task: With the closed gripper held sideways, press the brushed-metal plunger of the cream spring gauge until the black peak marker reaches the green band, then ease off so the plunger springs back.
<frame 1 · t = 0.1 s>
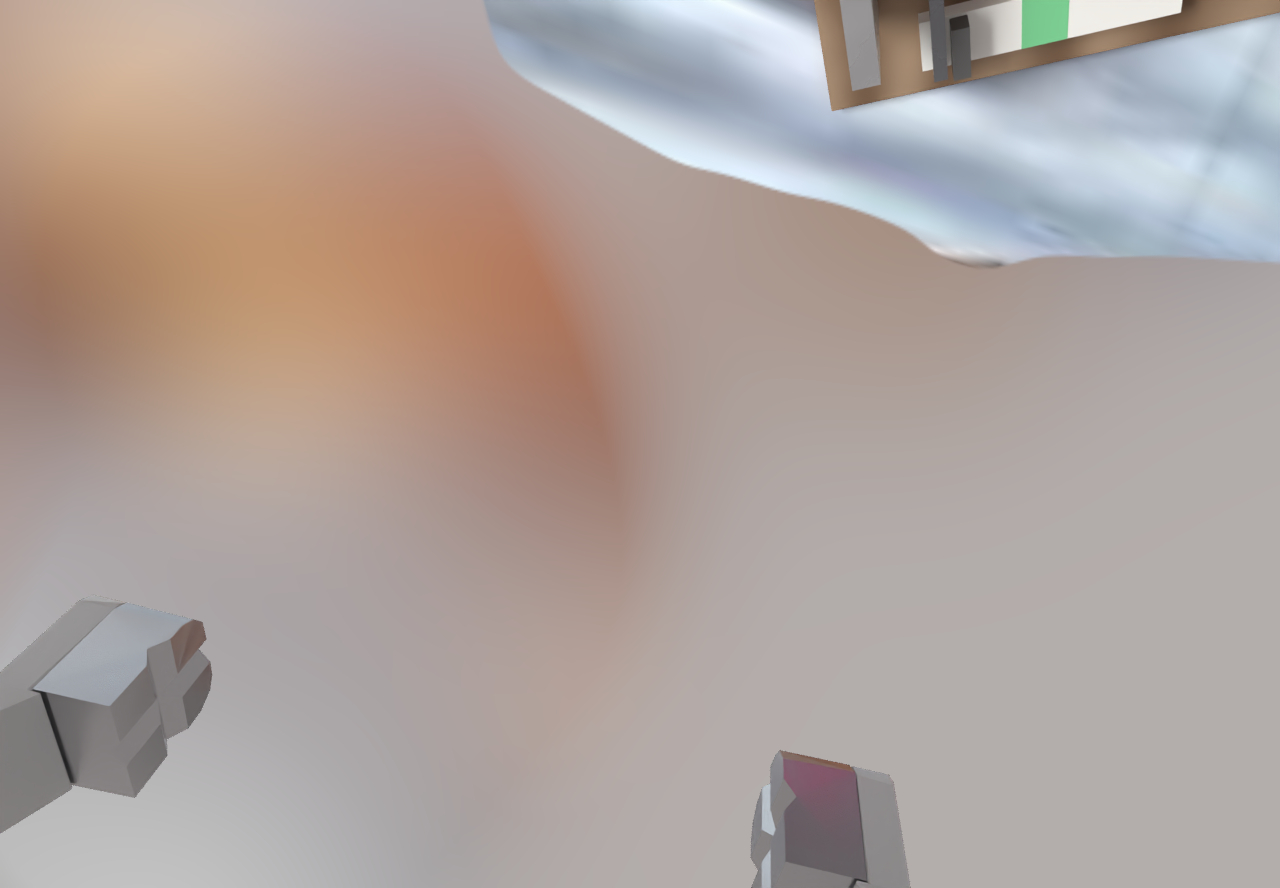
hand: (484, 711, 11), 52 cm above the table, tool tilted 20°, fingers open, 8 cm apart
peak marker: (960, 48, 48), point 4 cm above the table, slide at 0.0 cm
gauge scale: (1044, 13, 48), on the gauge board, point 1 cm above the table
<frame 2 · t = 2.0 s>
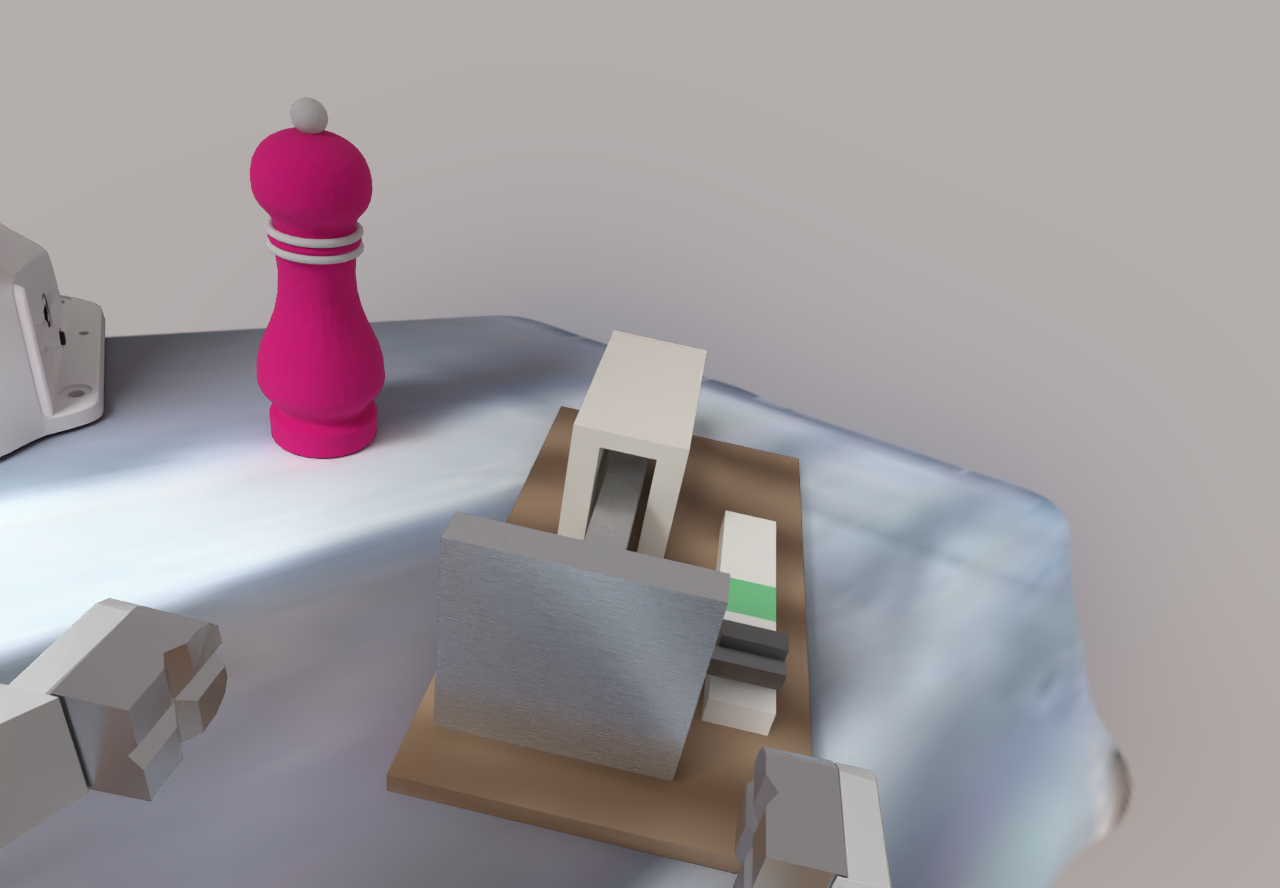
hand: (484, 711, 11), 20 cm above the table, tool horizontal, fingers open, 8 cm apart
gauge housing: (636, 438, 48), on the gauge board, point 5 cm above the table
peak marker: (750, 648, 36), point 4 cm above the table, slide at 0.0 cm
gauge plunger: (653, 522, 38), point 7 cm above the table, slide at 0.0 cm
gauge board: (607, 563, 45), on the table
gauge scale: (743, 607, 41), on the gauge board, point 1 cm above the table
pepper mill: (325, 434, 51), on the table
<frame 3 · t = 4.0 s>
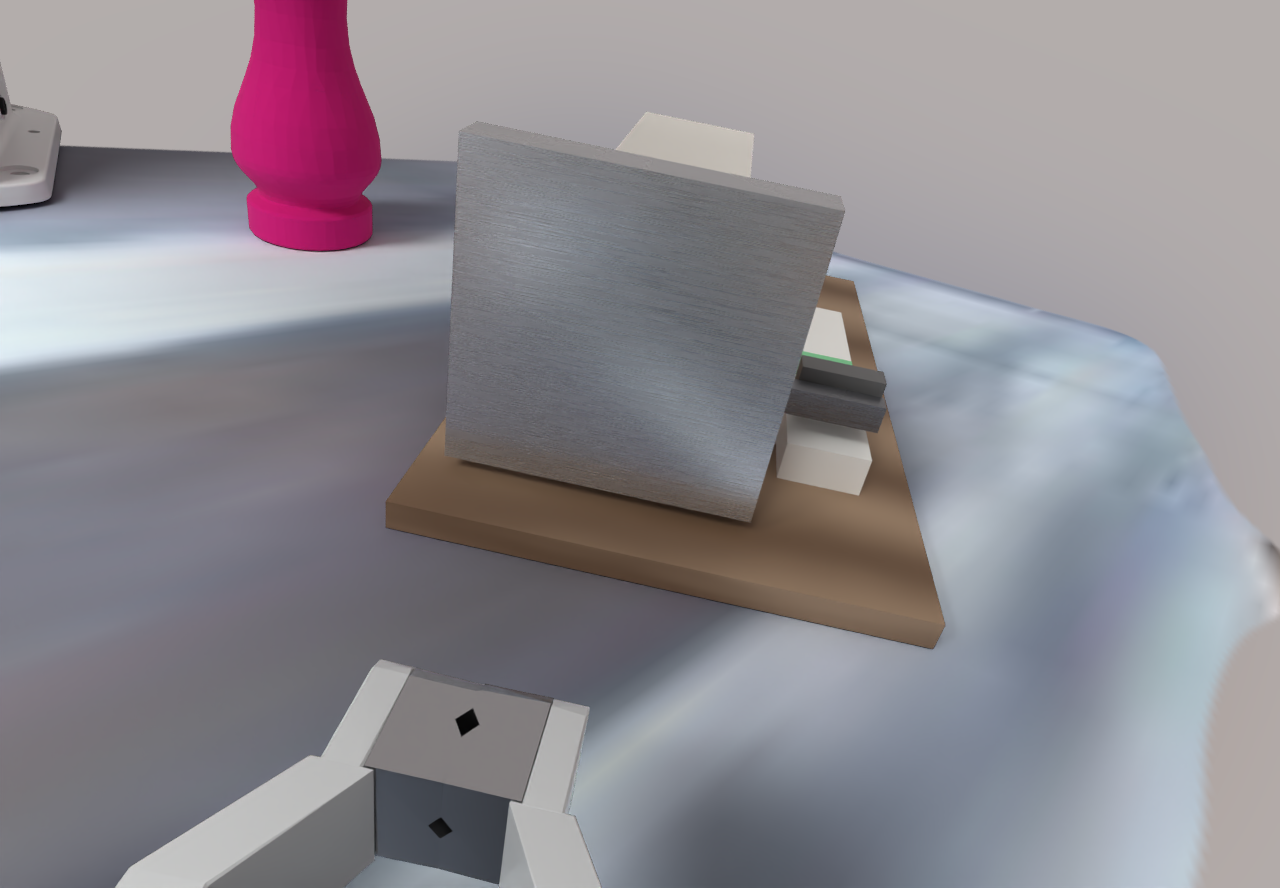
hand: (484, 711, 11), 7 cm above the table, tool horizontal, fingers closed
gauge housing: (676, 220, 41), on the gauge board, point 5 cm above the table
peak marker: (836, 391, 29), point 4 cm above the table, slide at 0.0 cm
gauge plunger: (710, 255, 31), point 6 cm above the table, slide at 0.0 cm
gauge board: (645, 352, 38), on the table
gauge scale: (814, 381, 34), on the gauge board, point 1 cm above the table
pepper mill: (312, 234, 44), on the table
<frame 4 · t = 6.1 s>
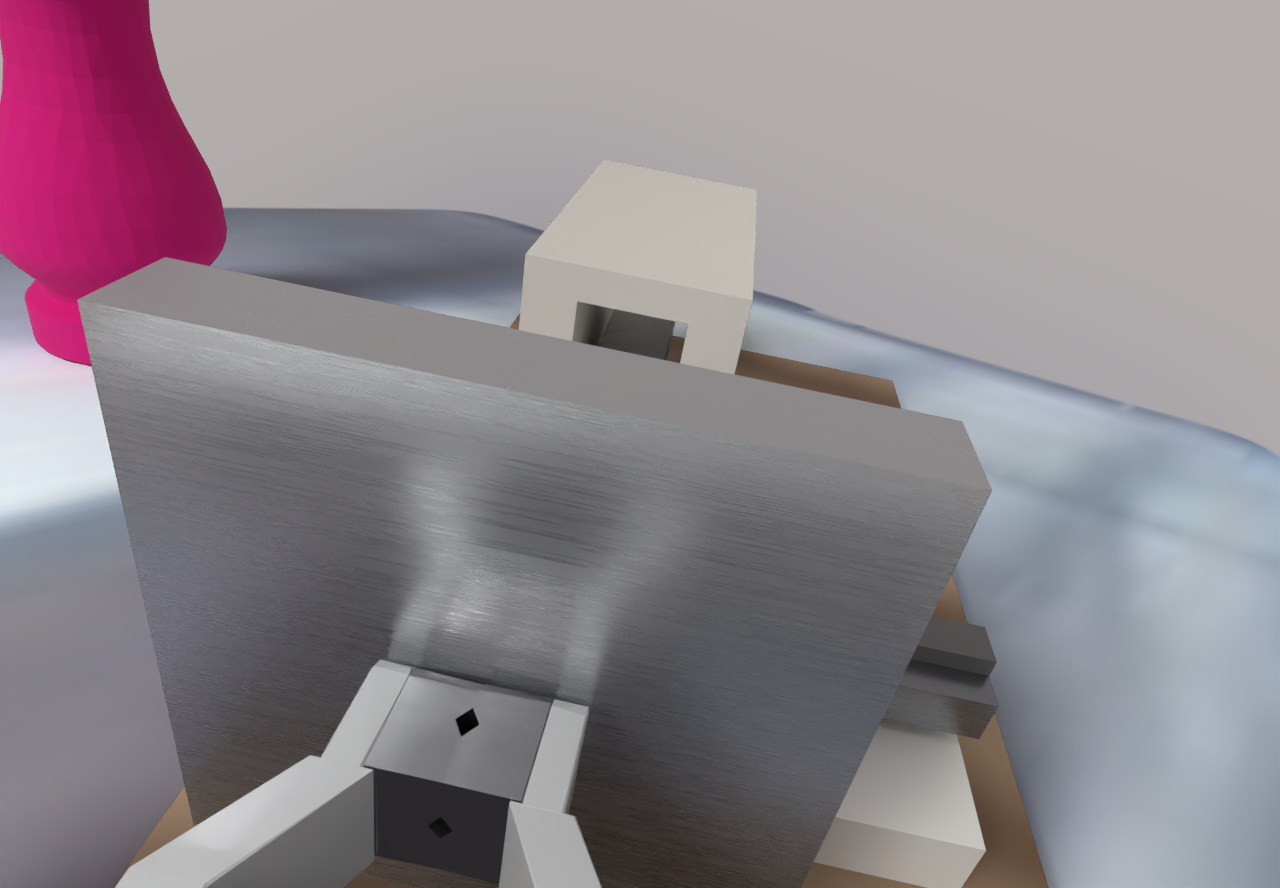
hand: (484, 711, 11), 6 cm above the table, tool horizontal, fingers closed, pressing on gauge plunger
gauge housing: (644, 322, 28), on the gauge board, point 5 cm above the table
peak marker: (904, 659, 17), point 4 cm above the table, slide at 1.0 cm, touching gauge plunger
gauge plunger: (691, 405, 20), point 6 cm above the table, slide at 1.3 cm, touching gripper, peak marker
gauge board: (595, 533, 25), on the table
gauge scale: (858, 608, 21), on the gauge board, point 1 cm above the table
pepper mill: (135, 335, 31), on the table
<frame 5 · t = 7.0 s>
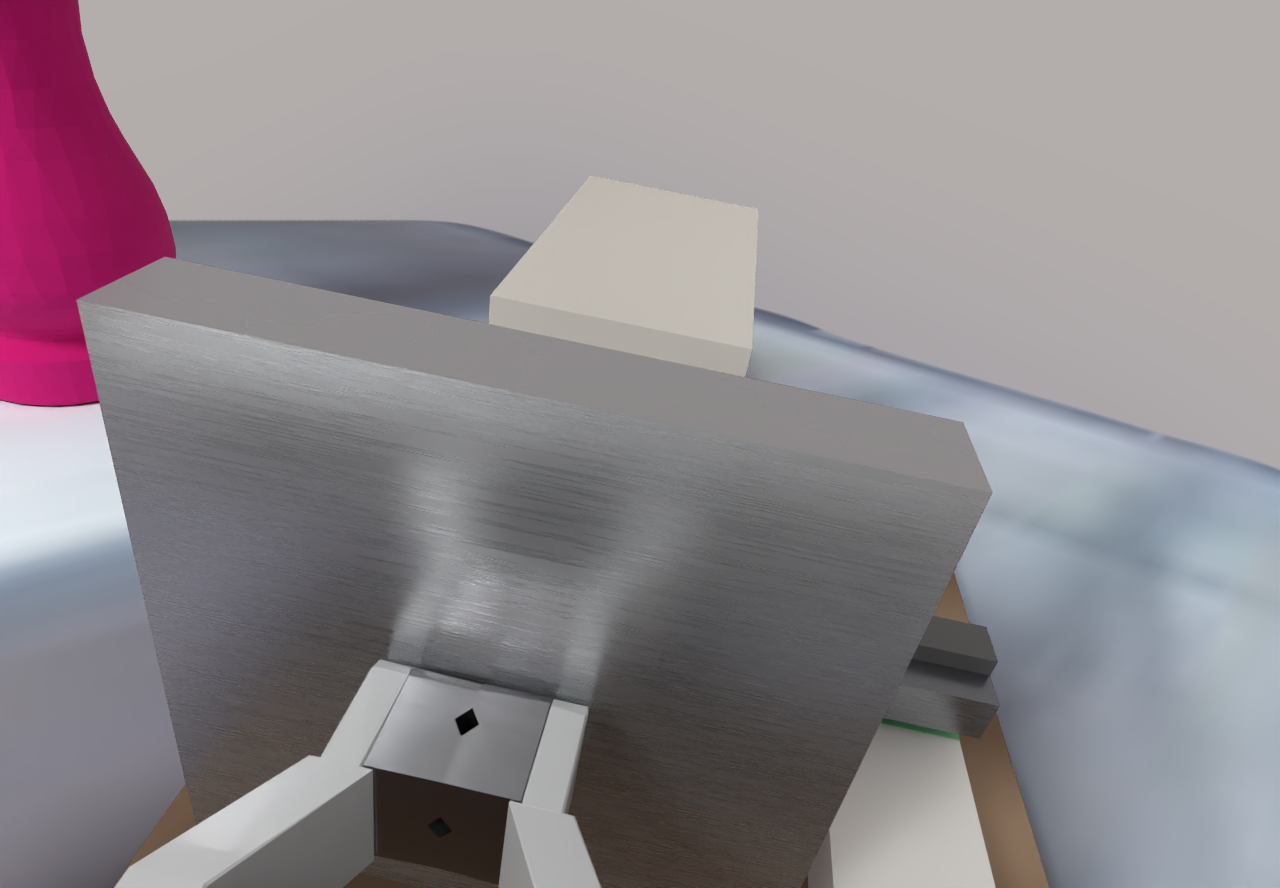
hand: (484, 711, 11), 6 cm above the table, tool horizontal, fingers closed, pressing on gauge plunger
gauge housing: (633, 359, 25), on the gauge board, point 5 cm above the table
peak marker: (905, 658, 17), point 4 cm above the table, slide at 4.2 cm, touching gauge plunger
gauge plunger: (693, 404, 19), point 6 cm above the table, slide at 4.5 cm, touching gripper, peak marker
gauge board: (576, 600, 22), on the table
gauge scale: (872, 700, 19), on the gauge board, point 1 cm above the table
pepper mill: (77, 368, 29), on the table
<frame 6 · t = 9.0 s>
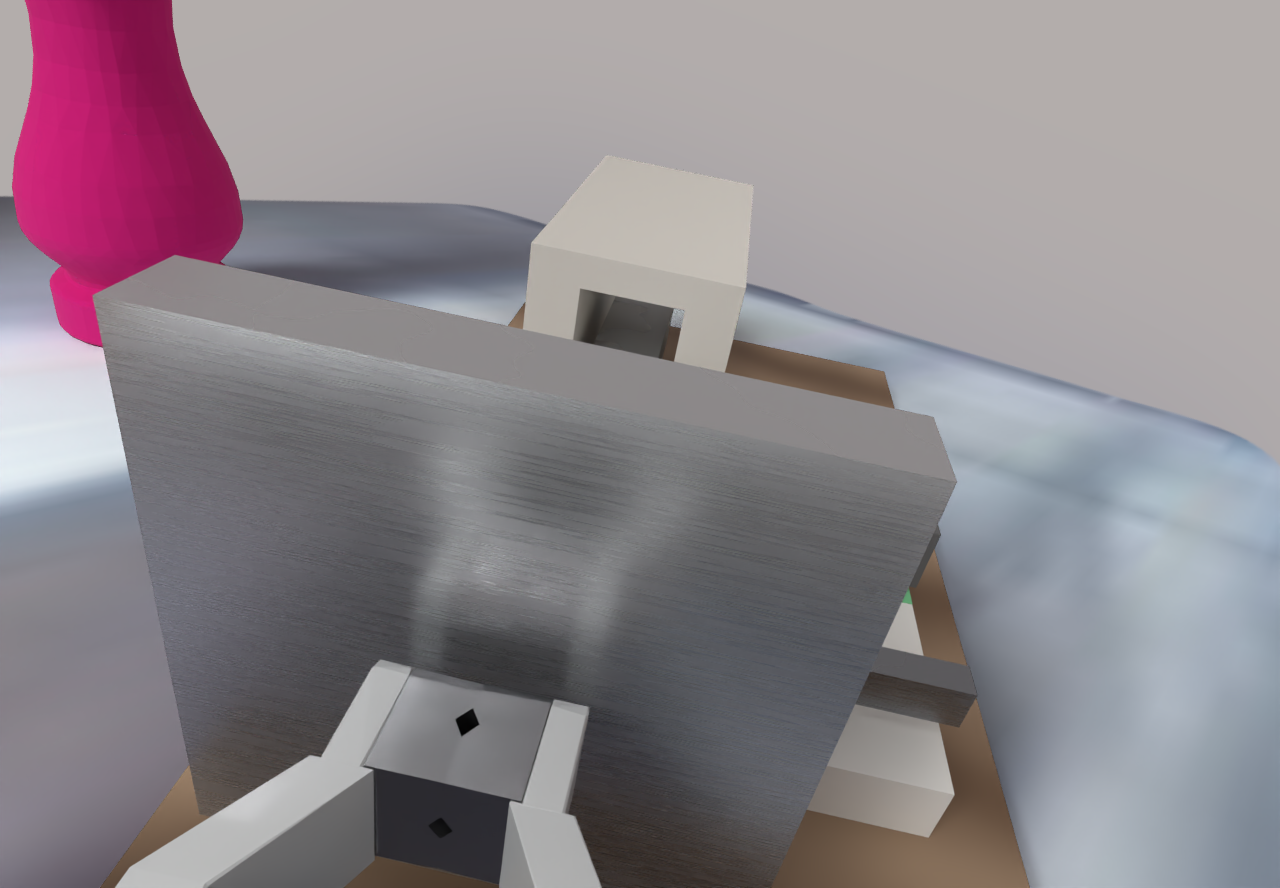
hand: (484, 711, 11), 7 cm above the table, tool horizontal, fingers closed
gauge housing: (644, 311, 29), on the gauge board, point 5 cm above the table
peak marker: (868, 537, 21), point 4 cm above the table, slide at 4.2 cm
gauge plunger: (684, 402, 20), point 6 cm above the table, slide at 0.4 cm
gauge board: (595, 511, 26), on the table
gauge scale: (843, 580, 23), on the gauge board, point 1 cm above the table
pepper mill: (153, 321, 33), on the table
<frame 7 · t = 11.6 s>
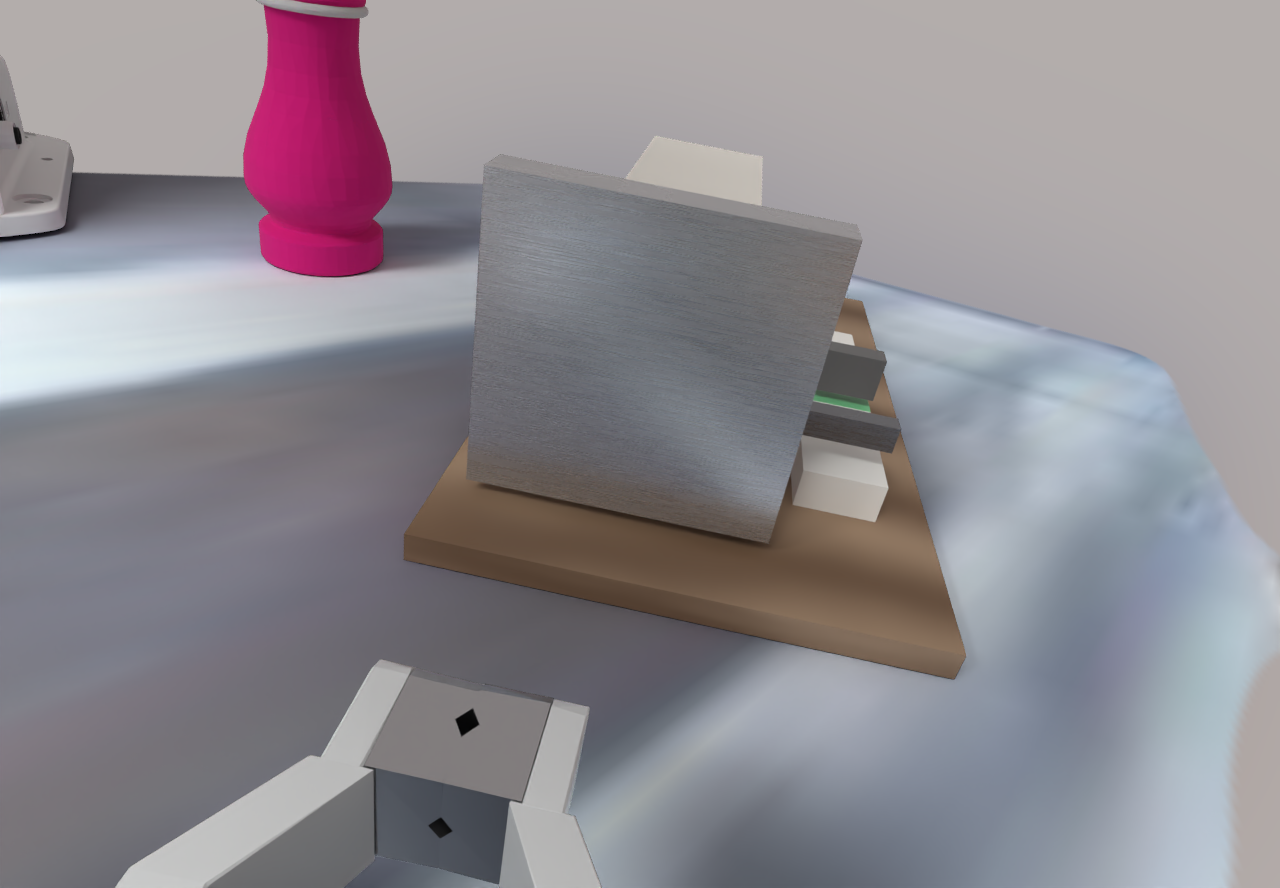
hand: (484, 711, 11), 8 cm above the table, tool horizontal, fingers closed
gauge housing: (686, 243, 41), on the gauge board, point 5 cm above the table
peak marker: (841, 369, 33), point 4 cm above the table, slide at 4.2 cm
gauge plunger: (724, 278, 32), point 6 cm above the table, slide at 0.4 cm
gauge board: (656, 376, 38), on the table
gauge scale: (827, 405, 34), on the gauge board, point 1 cm above the table
pepper mill: (323, 259, 44), on the table
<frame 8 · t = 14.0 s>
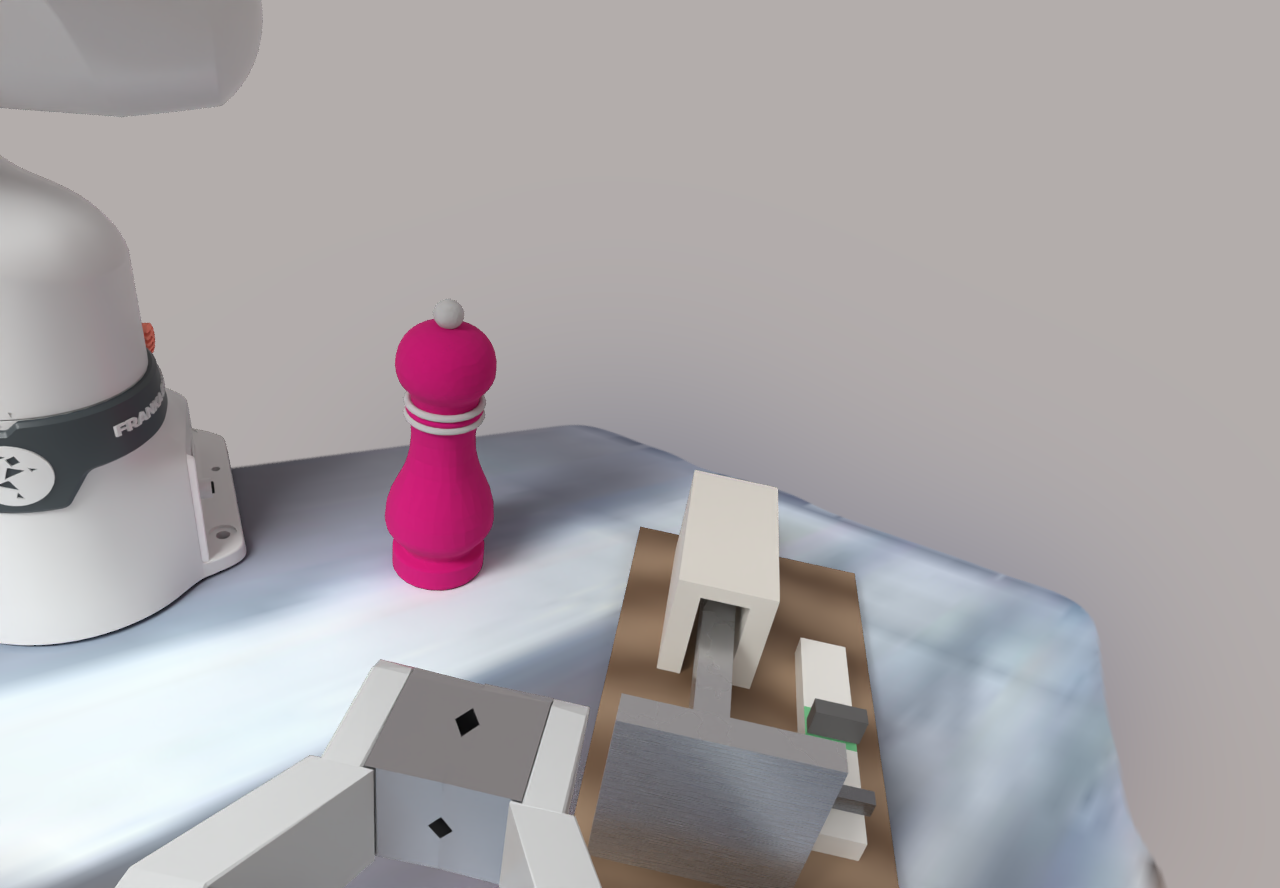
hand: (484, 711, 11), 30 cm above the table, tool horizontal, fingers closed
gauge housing: (720, 572, 54), on the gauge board, point 5 cm above the table
peak marker: (836, 721, 46), point 4 cm above the table, slide at 4.2 cm
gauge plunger: (753, 665, 45), point 6 cm above the table, slide at 0.4 cm
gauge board: (699, 689, 51), on the table
gauge scale: (826, 735, 48), on the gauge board, point 1 cm above the table
pepper mill: (438, 563, 57), on the table
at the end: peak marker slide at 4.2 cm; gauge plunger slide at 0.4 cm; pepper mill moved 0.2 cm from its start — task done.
